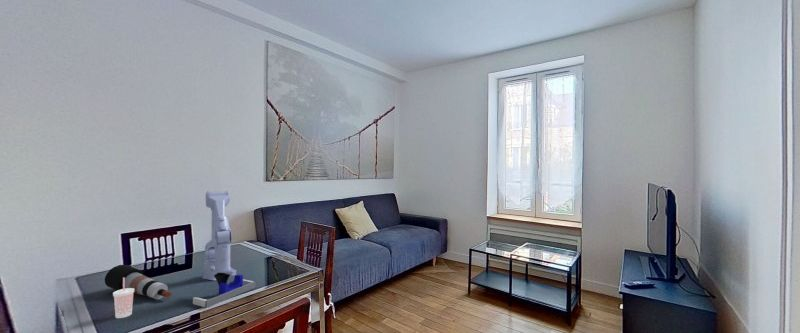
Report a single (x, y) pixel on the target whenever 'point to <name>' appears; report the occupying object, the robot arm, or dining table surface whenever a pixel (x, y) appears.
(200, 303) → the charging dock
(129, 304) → the beverage cup
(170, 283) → the dining table surface
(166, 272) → the dining table surface
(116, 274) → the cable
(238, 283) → the cable clip
